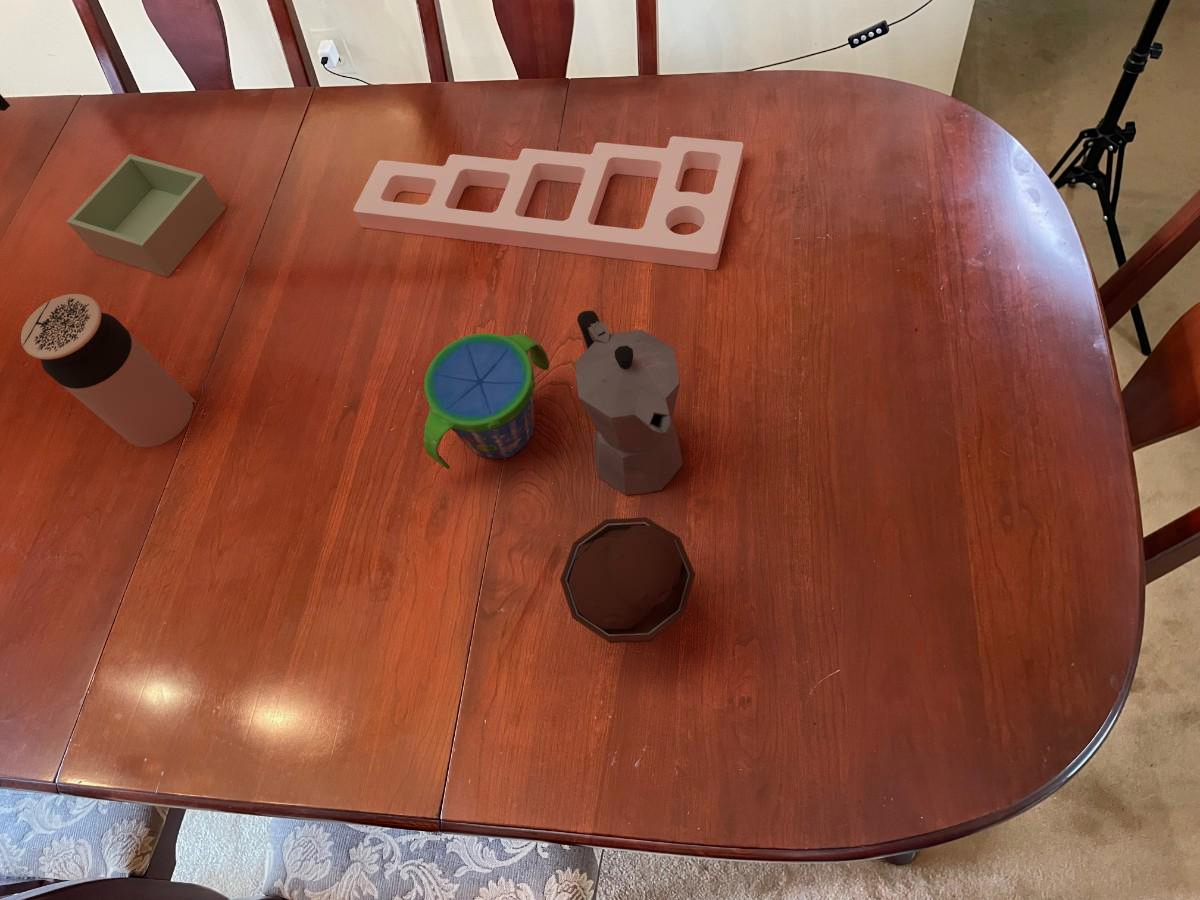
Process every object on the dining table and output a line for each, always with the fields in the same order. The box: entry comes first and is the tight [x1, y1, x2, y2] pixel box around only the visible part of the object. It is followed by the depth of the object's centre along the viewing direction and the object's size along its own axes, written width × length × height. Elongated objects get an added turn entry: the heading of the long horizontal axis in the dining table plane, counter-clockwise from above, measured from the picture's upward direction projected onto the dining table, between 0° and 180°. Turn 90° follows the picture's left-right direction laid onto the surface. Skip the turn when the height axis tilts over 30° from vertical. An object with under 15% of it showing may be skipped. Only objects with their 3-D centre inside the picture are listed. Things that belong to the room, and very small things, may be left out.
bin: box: [66, 153, 227, 278], centre depth 107 cm, size 12×12×6 cm
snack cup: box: [423, 332, 551, 470], centre depth 85 cm, size 16×10×10 cm
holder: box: [352, 135, 744, 271], centre depth 104 cm, size 45×18×3 cm, turn 76°
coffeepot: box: [574, 310, 684, 496], centre depth 79 cm, size 15×9×18 cm, turn 28°
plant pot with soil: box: [559, 517, 696, 644], centre depth 71 cm, size 11×11×15 cm
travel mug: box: [20, 293, 197, 448], centre depth 86 cm, size 8×8×18 cm
